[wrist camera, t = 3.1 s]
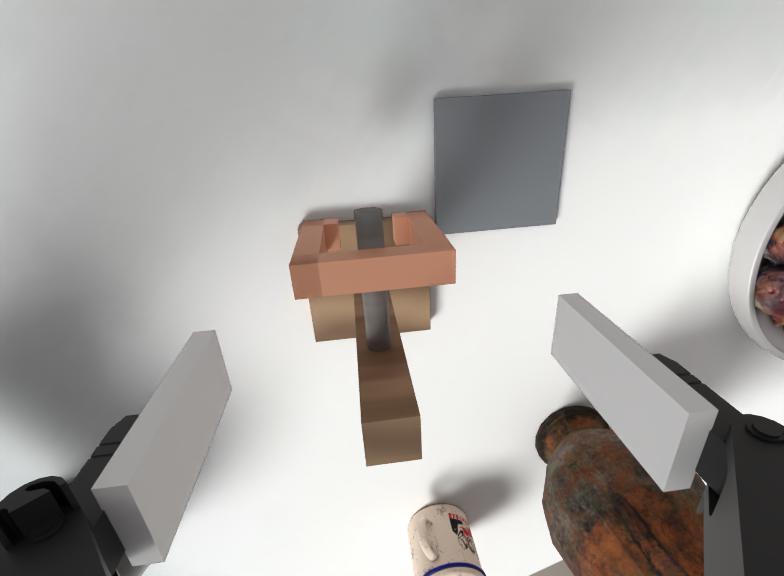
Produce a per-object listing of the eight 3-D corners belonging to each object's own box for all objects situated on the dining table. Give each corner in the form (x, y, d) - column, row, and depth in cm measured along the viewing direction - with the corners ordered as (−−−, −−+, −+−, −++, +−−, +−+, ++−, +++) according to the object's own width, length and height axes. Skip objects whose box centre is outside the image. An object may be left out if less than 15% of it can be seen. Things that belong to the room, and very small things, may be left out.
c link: (307, 246, 30) (294, 299, 22) (303, 220, 29) (288, 265, 21) (425, 236, 31) (455, 283, 23) (425, 210, 30) (455, 250, 22)
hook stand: (427, 322, 44) (498, 503, 24) (316, 334, 43) (294, 533, 23) (423, 165, 37) (519, 238, 17) (291, 176, 36) (228, 265, 16)
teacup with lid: (477, 527, 59) (506, 618, 49) (422, 551, 60) (439, 646, 50) (443, 479, 54) (467, 570, 44) (384, 507, 55) (394, 602, 45)
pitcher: (541, 498, 58) (715, 842, 31) (474, 408, 50) (631, 773, 23) (647, 443, 56) (934, 763, 29) (595, 338, 47) (934, 653, 20)
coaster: (435, 233, 40) (436, 234, 39) (433, 98, 35) (435, 98, 34) (552, 222, 41) (555, 224, 40) (567, 90, 36) (571, 89, 35)
